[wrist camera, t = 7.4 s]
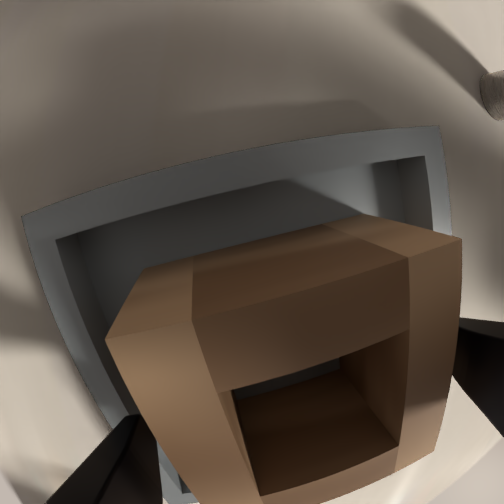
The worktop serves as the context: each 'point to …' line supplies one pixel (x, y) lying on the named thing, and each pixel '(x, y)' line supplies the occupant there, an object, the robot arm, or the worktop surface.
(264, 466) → the brown square socket block
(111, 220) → the tray
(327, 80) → the worktop surface
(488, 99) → the post
